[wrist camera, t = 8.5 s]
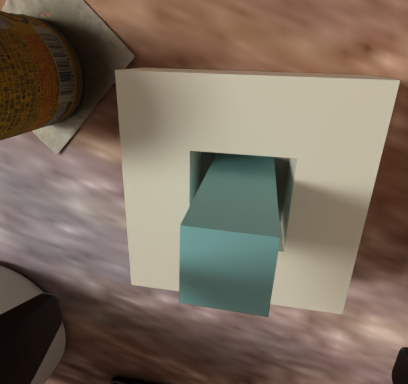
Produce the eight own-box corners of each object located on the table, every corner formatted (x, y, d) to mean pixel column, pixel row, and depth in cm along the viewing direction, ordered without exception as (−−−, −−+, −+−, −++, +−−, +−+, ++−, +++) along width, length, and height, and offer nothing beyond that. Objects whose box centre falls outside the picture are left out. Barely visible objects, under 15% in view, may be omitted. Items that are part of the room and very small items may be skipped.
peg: (267, 207, 19) (268, 317, 11) (214, 201, 20) (178, 302, 12) (273, 156, 18) (280, 237, 10) (217, 151, 19) (179, 225, 10)
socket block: (328, 270, 21) (341, 314, 17) (152, 248, 23) (131, 284, 19) (370, 75, 16) (400, 80, 13) (144, 67, 18) (114, 70, 15)
